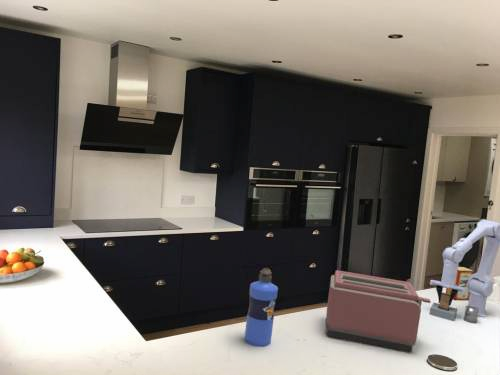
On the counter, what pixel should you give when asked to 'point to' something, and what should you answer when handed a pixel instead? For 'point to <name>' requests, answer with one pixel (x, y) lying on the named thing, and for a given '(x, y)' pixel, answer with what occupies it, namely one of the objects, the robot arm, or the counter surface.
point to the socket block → (443, 312)
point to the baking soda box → (462, 283)
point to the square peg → (444, 300)
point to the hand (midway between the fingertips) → (444, 303)
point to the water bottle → (261, 310)
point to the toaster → (373, 311)
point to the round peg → (471, 314)
